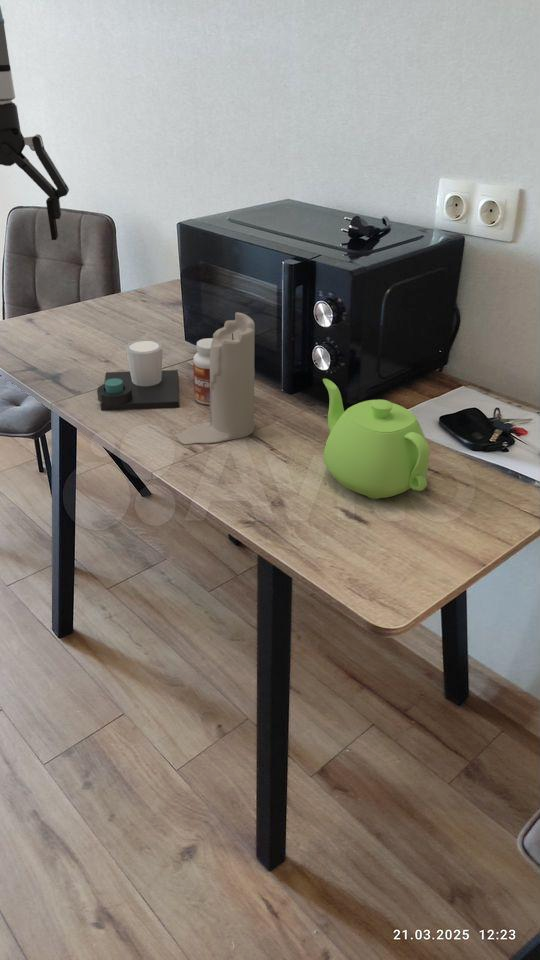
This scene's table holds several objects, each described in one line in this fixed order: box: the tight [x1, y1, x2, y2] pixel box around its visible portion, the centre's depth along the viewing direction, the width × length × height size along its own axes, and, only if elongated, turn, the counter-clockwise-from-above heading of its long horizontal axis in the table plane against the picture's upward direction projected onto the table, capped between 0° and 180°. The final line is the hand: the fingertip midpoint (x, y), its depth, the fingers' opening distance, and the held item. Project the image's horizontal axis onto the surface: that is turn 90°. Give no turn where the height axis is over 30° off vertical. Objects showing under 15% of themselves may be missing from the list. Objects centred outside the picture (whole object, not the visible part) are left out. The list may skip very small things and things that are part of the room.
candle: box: [173, 311, 256, 445], centre depth 115 cm, size 7×14×20 cm, turn 115°
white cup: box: [125, 339, 163, 386], centre depth 133 cm, size 7×7×7 cm
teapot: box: [322, 378, 431, 500], centre depth 107 cm, size 22×15×13 cm
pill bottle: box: [192, 337, 213, 406], centre depth 129 cm, size 6×6×11 cm
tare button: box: [104, 378, 124, 394], centre depth 127 cm, size 3×3×2 cm
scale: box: [96, 369, 180, 411], centre depth 132 cm, size 14×14×3 cm
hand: (15, 238), depth 123 cm, fingers open, 13 cm apart
